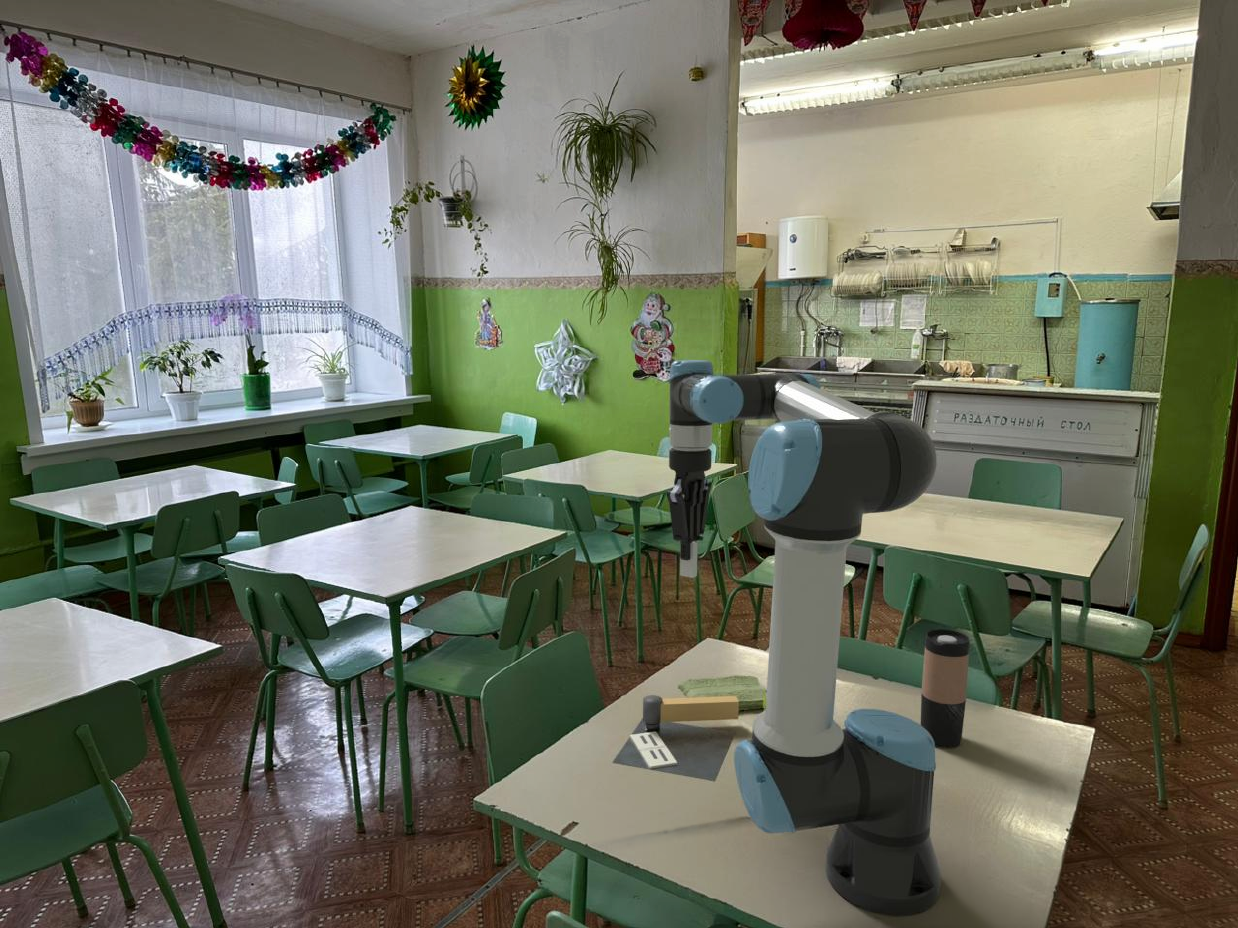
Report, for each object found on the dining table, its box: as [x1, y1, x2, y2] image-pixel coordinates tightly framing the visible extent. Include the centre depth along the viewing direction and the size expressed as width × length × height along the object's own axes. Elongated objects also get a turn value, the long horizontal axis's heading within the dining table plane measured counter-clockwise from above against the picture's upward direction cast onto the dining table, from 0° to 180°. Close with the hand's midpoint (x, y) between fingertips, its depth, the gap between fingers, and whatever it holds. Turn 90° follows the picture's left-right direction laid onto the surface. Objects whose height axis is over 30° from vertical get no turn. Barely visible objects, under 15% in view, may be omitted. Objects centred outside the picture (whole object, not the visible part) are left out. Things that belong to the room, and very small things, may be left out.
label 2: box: [640, 746, 677, 770], centre depth 146 cm, size 6×5×1 cm
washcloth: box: [677, 674, 767, 712], centre depth 171 cm, size 13×18×3 cm
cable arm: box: [642, 694, 740, 724], centre depth 156 cm, size 18×4×4 cm, turn 95°
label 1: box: [629, 731, 665, 753], centre depth 151 cm, size 6×5×1 cm
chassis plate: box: [612, 717, 736, 782], centre depth 150 cm, size 18×18×3 cm
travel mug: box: [920, 628, 971, 749], centre depth 153 cm, size 8×8×20 cm
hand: (688, 575), depth 152 cm, fingers closed
